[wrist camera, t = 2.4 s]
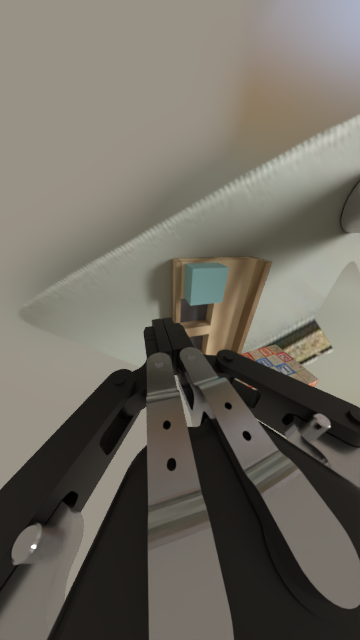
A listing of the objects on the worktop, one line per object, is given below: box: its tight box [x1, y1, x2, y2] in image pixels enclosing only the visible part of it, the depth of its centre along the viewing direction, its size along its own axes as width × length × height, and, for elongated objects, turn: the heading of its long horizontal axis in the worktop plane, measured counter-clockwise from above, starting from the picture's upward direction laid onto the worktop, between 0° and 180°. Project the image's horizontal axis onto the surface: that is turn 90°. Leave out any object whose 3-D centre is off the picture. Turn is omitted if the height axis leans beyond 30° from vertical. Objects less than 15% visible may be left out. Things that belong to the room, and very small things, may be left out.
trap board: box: [173, 257, 272, 377], centre depth 28 cm, size 14×22×4 cm, turn 178°
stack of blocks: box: [235, 345, 319, 390], centre depth 37 cm, size 21×6×12 cm, turn 94°
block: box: [184, 263, 229, 306], centre depth 21 cm, size 5×5×3 cm
